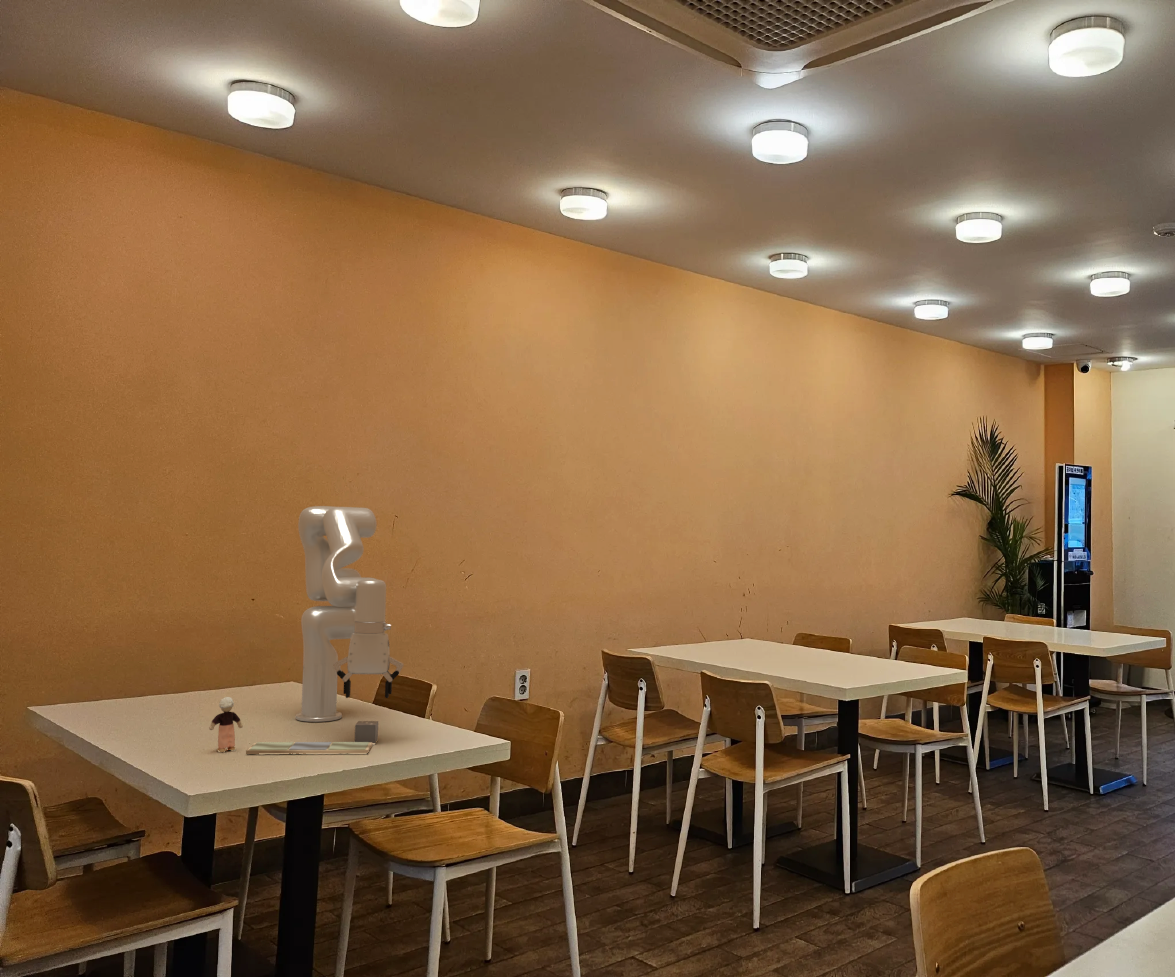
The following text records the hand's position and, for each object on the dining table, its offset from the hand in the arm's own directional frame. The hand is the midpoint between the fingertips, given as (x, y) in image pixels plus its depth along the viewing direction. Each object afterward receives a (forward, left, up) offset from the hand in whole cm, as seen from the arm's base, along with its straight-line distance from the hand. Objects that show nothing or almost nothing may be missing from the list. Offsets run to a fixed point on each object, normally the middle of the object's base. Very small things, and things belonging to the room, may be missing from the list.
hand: (367, 697), depth 240 cm
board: (+9, -12, -11) cm, 19 cm away
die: (0, 0, -11) cm, 11 cm away
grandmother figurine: (+9, -32, -12) cm, 35 cm away
